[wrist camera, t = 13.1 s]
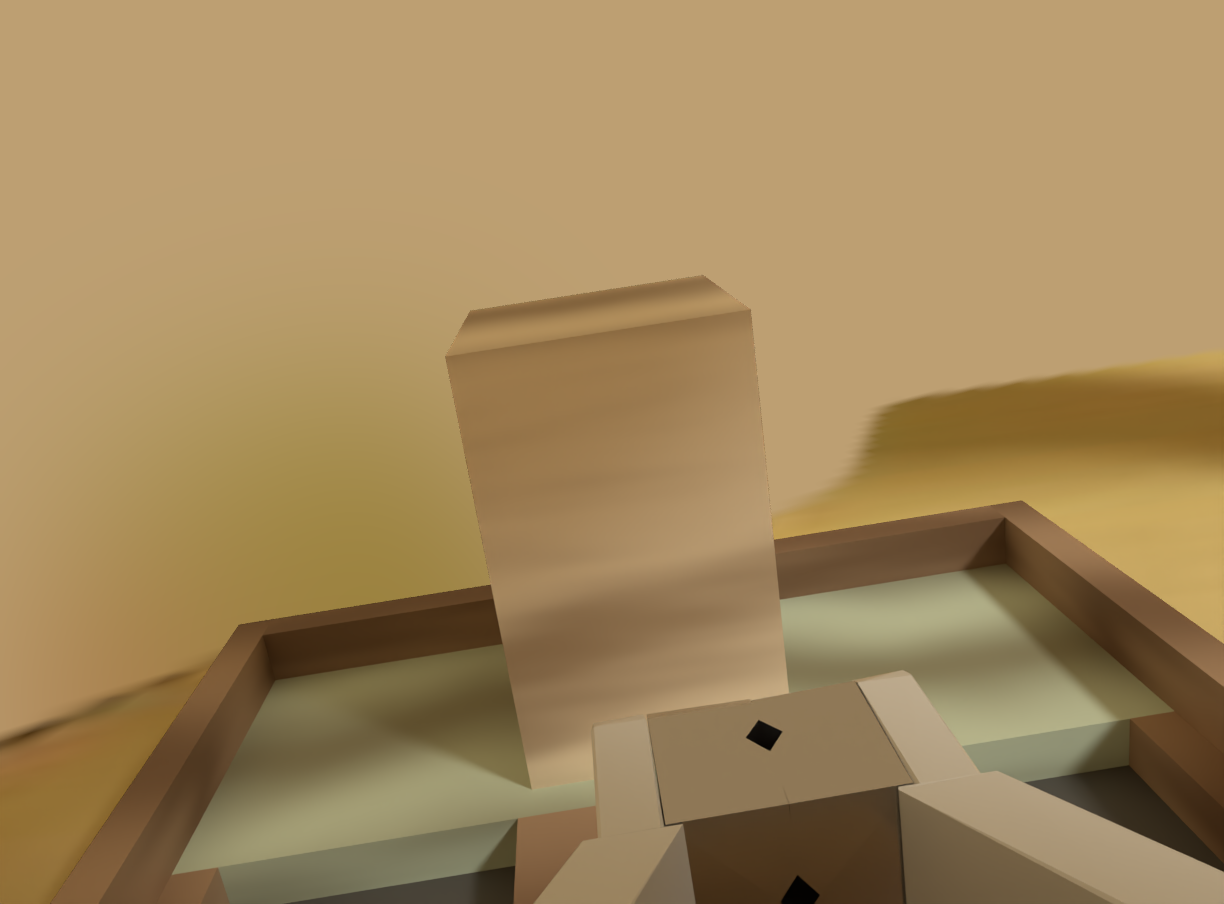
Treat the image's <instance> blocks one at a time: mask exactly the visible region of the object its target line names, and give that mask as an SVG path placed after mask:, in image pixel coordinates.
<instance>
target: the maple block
mask: <svg viewBox="0 0 1224 904" xmlns="http://www.w3.org/2000/svg"><path fill="white" fill-rule="evenodd" d="M445 358H446V363H447V368H448V373H449V378H450V383H451V388H452V393H453V398H454V403H455V407H456V412H457V418H458V423H459V428H460V433H461V438H462V443H463V448H464V453H465V458H466V463H467V468H468V472H469V477H470V483H471V487H472V493H473V498H474V503H475V508H476V513H477V518H478V523H479V528H480V533H481V538H482V543H483V548H484V552H485V558H486V563H487V568H488V573H489V578H490V583H491V588H492V593H493V598H494V603H495V608H496V613H497V618H498V623H499V628H500V633H501V638H502V643H503V648H504V653H505V658H506V663H507V668H508V673H509V678H510V683H511V688H512V693H513V698H514V703H515V708H516V713H517V718H518V723H519V728H520V733H521V738H522V743H523V748H524V753H525V758H526V763H527V768H528V773H529V778H530V783H531V788H532V790H533V789H539V788H545V787H551V786H558V785H564V784H570V783H576V782H582V781H588V780H594V770H593V754H592V738H591V730H592V726H593V723H597V722H602V721H608V720H614V719H619V718H625V717H630V716H636V715H642V714H643V715H644V717H645V718H646V721H647V714H651V713H658V712H665V711H672V710H678V709H685V708H692V707H699V706H706V705H712V704H719V703H726V702H733V701H740V700H746V699H750V700H756V699H761V698H766V697H772V696H777V695H782V694H787V693H789V688H788V678H787V668H786V658H785V648H784V638H783V628H782V618H781V608H780V598H779V588H778V578H777V568H776V558H775V548H774V538H773V528H772V518H771V508H770V498H769V488H768V478H767V469H766V458H765V448H764V438H763V429H762V420H761V419H762V418H761V408H760V398H759V388H758V378H757V369H756V358H755V349H754V338H753V329H752V318H751V310H750V309H749V308H748V307H747V306H745V305H744V304H742V303H741V302H739V301H738V300H737V299H735V298H734V297H733V296H731V295H730V294H728V293H727V292H726V291H724V290H723V289H722V288H720V287H719V286H717V285H716V284H715V283H713V282H712V281H711V280H709V279H708V278H706V277H705V276H703V275H701V276H694V277H688V278H681V279H675V280H668V281H662V282H655V283H649V284H642V285H635V286H629V287H622V288H616V289H609V290H603V291H596V292H590V293H583V294H577V295H570V296H564V297H557V298H551V299H544V300H538V301H531V302H524V303H518V304H511V305H505V306H498V307H492V308H485V309H479V310H472V311H470V312H469V314H468V316H467V318H466V320H465V321H464V323H463V325H462V327H461V329H460V331H459V332H458V334H457V336H456V338H455V340H454V341H453V343H452V345H451V347H450V349H449V351H448V352H447V354H446V356H445ZM647 727H648V721H647ZM648 733H649V728H648ZM649 738H650V734H649ZM650 744H651V740H650ZM651 750H652V747H651ZM652 756H653V753H652ZM653 762H654V759H653ZM654 767H655V765H654Z"/></svg>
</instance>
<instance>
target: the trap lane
mask: <svg viewBox="0 0 1224 904" xmlns="http://www.w3.org/2000/svg"><path fill="white" fill-rule="evenodd" d="M774 548H775V558H776V568H777V578H778V588H779V598H780V608H781V618H782V628H783V638H784V648H785V658H786V668H787V678H788V688H789V693H793V692H798V691H803V690H808V689H813V688H819V687H824V686H829V685H834V684H840V683H845V682H850V681H852V680H857V679H862V678H866V677H871V676H876V675H881V674H886V673H891V672H896V671H900V670H904V671H906V672H908V673H910V674H911V675H912V676H913V677H914V679H915V680H916V682H917V683H918V685H919V686H920V687H921V689H922V690H923V692H924V693H925V695H926V696H927V697H928V699H929V700H930V702H931V703H932V705H933V706H934V707H935V709H936V710H937V712H938V713H939V714H940V716H941V717H942V719H943V720H944V722H945V723H946V724H947V726H948V727H949V729H950V730H951V732H952V733H953V734H954V736H955V737H956V739H957V740H958V742H959V743H960V744H961V746H962V747H963V749H964V750H965V751H966V753H967V754H968V756H969V757H970V759H971V760H972V761H973V763H974V764H975V766H976V767H977V769H978V770H979V771H980V773H986V772H992V771H999V772H1001V773H1003V774H1006V775H1008V776H1010V777H1012V778H1015V779H1017V780H1019V781H1021V782H1023V783H1026V784H1028V785H1030V786H1032V787H1035V788H1037V789H1039V790H1041V791H1044V792H1046V793H1048V794H1050V795H1053V796H1055V797H1057V798H1059V799H1062V800H1064V801H1066V802H1068V803H1071V804H1073V805H1075V806H1077V807H1079V808H1082V809H1084V810H1086V811H1088V812H1091V813H1093V814H1095V815H1097V816H1100V817H1102V818H1104V819H1106V820H1109V821H1111V822H1113V823H1115V824H1118V825H1120V826H1122V827H1124V828H1126V829H1129V830H1131V831H1133V832H1135V833H1138V834H1140V835H1142V836H1144V837H1147V838H1149V839H1151V840H1153V841H1156V842H1158V843H1160V844H1162V845H1165V846H1167V847H1169V848H1171V849H1173V850H1176V851H1178V852H1180V853H1182V854H1185V855H1187V856H1189V857H1191V858H1194V859H1196V860H1198V861H1200V862H1203V863H1205V864H1207V865H1209V866H1212V867H1214V868H1216V869H1218V870H1220V871H1223V872H1224V644H1223V643H1222V642H1220V641H1219V640H1217V639H1216V638H1215V637H1213V636H1212V635H1210V634H1209V633H1208V632H1206V631H1205V630H1203V629H1202V628H1201V627H1199V626H1198V625H1196V624H1195V623H1194V622H1192V621H1191V620H1189V619H1188V618H1187V617H1185V616H1184V615H1182V614H1181V613H1180V612H1178V611H1177V610H1175V609H1174V608H1172V607H1171V606H1170V605H1168V604H1167V603H1165V602H1164V601H1163V600H1161V599H1160V598H1158V597H1157V596H1156V595H1154V594H1153V593H1151V592H1150V591H1149V590H1147V589H1146V588H1144V587H1143V586H1142V585H1140V584H1139V583H1137V582H1136V581H1135V580H1133V579H1132V578H1130V577H1129V576H1127V575H1126V574H1125V573H1123V572H1122V571H1120V570H1119V569H1118V568H1116V567H1115V566H1113V565H1112V564H1111V563H1109V562H1108V561H1106V560H1105V559H1104V558H1102V557H1101V556H1099V555H1098V554H1097V553H1095V552H1094V551H1092V550H1091V549H1090V548H1088V547H1087V546H1085V545H1084V544H1083V543H1081V542H1080V541H1078V540H1077V539H1075V538H1074V537H1073V536H1071V535H1070V534H1068V533H1067V532H1066V531H1064V530H1063V529H1061V528H1060V527H1059V526H1057V525H1056V524H1054V523H1053V522H1052V521H1050V520H1049V519H1047V518H1046V517H1045V516H1043V515H1042V514H1040V513H1039V512H1038V511H1036V510H1035V509H1033V508H1032V507H1030V506H1029V505H1028V504H1026V503H1025V502H1023V501H1016V502H1010V503H1003V504H997V505H991V506H984V507H978V508H972V509H966V510H959V511H953V512H947V513H940V514H934V515H928V516H921V517H915V518H909V519H902V520H896V521H890V522H884V523H877V524H871V525H865V526H858V527H852V528H846V529H839V530H833V531H827V532H820V533H814V534H808V535H802V536H795V537H789V538H783V539H776V540H774ZM655 773H656V771H655ZM656 779H657V777H656ZM657 785H658V783H657ZM658 791H659V789H658ZM596 838H598V832H597V816H596V801H595V785H594V780H588V781H582V782H576V783H570V784H564V785H558V786H551V787H545V788H539V789H533V790H532V788H531V783H530V778H529V773H528V768H527V763H526V758H525V753H524V748H523V743H522V738H521V733H520V728H519V723H518V718H517V713H516V708H515V703H514V698H513V693H512V688H511V683H510V678H509V673H508V668H507V663H506V658H505V653H504V648H503V643H502V638H501V633H500V628H499V623H498V618H497V613H496V608H495V603H494V598H493V593H492V588H491V585H486V586H481V587H474V588H467V589H461V590H455V591H448V592H442V593H436V594H429V595H423V596H417V597H411V598H404V599H398V600H392V601H386V602H380V603H373V604H367V605H360V606H354V607H348V608H341V609H335V610H329V611H322V612H316V613H310V614H303V615H297V616H291V617H285V618H279V619H272V620H265V621H259V622H253V623H247V624H241V625H238V627H237V629H236V630H235V631H234V633H233V635H232V636H231V637H230V639H229V640H228V642H227V643H226V645H225V646H224V648H223V649H222V651H221V652H220V654H219V655H218V657H217V658H216V659H215V661H214V662H213V664H212V665H211V667H210V668H209V670H208V671H207V673H206V674H205V676H204V677H203V679H202V680H201V682H200V683H199V685H198V686H197V688H196V689H195V691H194V692H193V693H192V695H191V696H190V698H189V699H188V701H187V702H186V704H185V705H184V707H183V708H182V710H181V711H180V713H179V714H178V716H177V717H176V719H175V720H174V722H173V723H172V724H171V726H170V727H169V729H168V730H167V732H166V733H165V735H164V736H163V738H162V739H161V741H160V742H159V744H158V745H157V747H156V748H155V750H154V751H153V753H152V754H151V756H150V757H149V758H148V760H147V761H146V763H145V764H144V766H143V767H142V769H141V770H140V772H139V773H138V775H137V776H136V778H135V779H134V781H133V782H132V784H131V785H130V787H129V788H128V789H127V791H126V792H125V794H124V795H123V797H122V798H121V800H120V801H119V803H118V804H117V806H116V807H115V809H114V810H113V812H112V813H111V815H110V816H109V818H108V819H107V821H106V822H105V823H104V825H103V826H102V828H101V829H100V831H99V832H98V834H97V835H96V837H95V838H94V840H93V841H92V843H91V844H90V846H89V847H88V849H87V850H86V852H85V853H84V854H83V856H82V857H81V859H80V860H79V862H78V863H77V865H76V866H75V868H74V869H73V871H72V872H71V874H70V875H69V877H68V878H67V880H66V881H65V883H64V884H63V886H62V887H61V888H60V890H59V891H58V893H57V894H56V896H55V897H54V899H53V900H52V902H51V903H50V904H534V902H535V901H536V900H537V898H538V897H539V896H540V895H541V893H542V892H543V891H544V889H545V888H546V887H547V886H548V884H549V883H550V882H551V880H552V879H553V878H554V876H555V875H556V874H557V873H558V871H559V870H560V869H561V867H562V866H563V865H564V864H565V862H566V861H567V860H568V858H569V857H570V856H571V855H572V853H573V852H574V851H575V849H576V848H577V847H578V846H579V844H580V843H581V842H582V841H585V840H590V839H596Z"/></svg>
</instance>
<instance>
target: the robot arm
mask: <svg viewBox="0 0 1224 904" xmlns="http://www.w3.org/2000/svg"><path fill="white" fill-rule="evenodd" d="M647 721H648V727H647ZM647 721H646V718H645V717H644V715H643V714H642V715H636V716H630V717H625V718H619V719H614V720H608V721H602V722H597V723H593V726H592V730H591V738H592V754H593V770H594V785H595V801H596V816H597V832H598V838H596V839H590V840H585V841H582V842H581V843H580V844H579V846H578V847H577V848H576V849H575V851H574V852H573V853H572V855H571V856H570V857H569V858H568V860H567V861H566V862H565V864H564V865H563V866H562V867H561V869H560V870H559V871H558V873H557V874H556V875H555V876H554V878H553V879H552V880H551V882H550V883H549V884H548V886H547V887H546V888H545V889H544V891H543V892H542V893H541V895H540V896H539V897H538V898H537V900H536V901H535V902H534V904H1224V872H1223V871H1220V870H1218V869H1216V868H1214V867H1212V866H1209V865H1207V864H1205V863H1203V862H1200V861H1198V860H1196V859H1194V858H1191V857H1189V856H1187V855H1185V854H1182V853H1180V852H1178V851H1176V850H1173V849H1171V848H1169V847H1167V846H1165V845H1162V844H1160V843H1158V842H1156V841H1153V840H1151V839H1149V838H1147V837H1144V836H1142V835H1140V834H1138V833H1135V832H1133V831H1131V830H1129V829H1126V828H1124V827H1122V826H1120V825H1118V824H1115V823H1113V822H1111V821H1109V820H1106V819H1104V818H1102V817H1100V816H1097V815H1095V814H1093V813H1091V812H1088V811H1086V810H1084V809H1082V808H1079V807H1077V806H1075V805H1073V804H1071V803H1068V802H1066V801H1064V800H1062V799H1059V798H1057V797H1055V796H1053V795H1050V794H1048V793H1046V792H1044V791H1041V790H1039V789H1037V788H1035V787H1032V786H1030V785H1028V784H1026V783H1023V782H1021V781H1019V780H1017V779H1015V778H1012V777H1010V776H1008V775H1006V774H1003V773H1001V772H999V771H992V772H986V773H980V771H979V770H978V769H977V767H976V766H975V764H974V763H973V761H972V760H971V759H970V757H969V756H968V754H967V753H966V751H965V750H964V749H963V747H962V746H961V744H960V743H959V742H958V740H957V739H956V737H955V736H954V734H953V733H952V732H951V730H950V729H949V727H948V726H947V724H946V723H945V722H944V720H943V719H942V717H941V716H940V714H939V713H938V712H937V710H936V709H935V707H934V706H933V705H932V703H931V702H930V700H929V699H928V697H927V696H926V695H925V693H924V692H923V690H922V689H921V687H920V686H919V685H918V683H917V682H916V680H915V679H914V677H913V676H912V675H911V674H910V673H908V672H906V671H904V670H900V671H896V672H891V673H886V674H881V675H876V676H871V677H866V678H862V679H857V680H852V681H850V682H845V683H840V684H834V685H829V686H824V687H819V688H813V689H808V690H803V691H798V692H793V693H787V694H782V695H777V696H772V697H766V698H761V699H756V700H750V699H746V700H740V701H733V702H726V703H719V704H712V705H706V706H699V707H692V708H685V709H678V710H672V711H665V712H658V713H651V714H647ZM648 728H649V733H648ZM649 734H650V738H649ZM650 740H651V744H650ZM651 747H652V750H651ZM652 753H653V756H652ZM653 759H654V762H653ZM654 765H655V767H654ZM655 771H656V773H655ZM656 777H657V779H656ZM657 783H658V785H657ZM658 789H659V791H658Z"/></svg>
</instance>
